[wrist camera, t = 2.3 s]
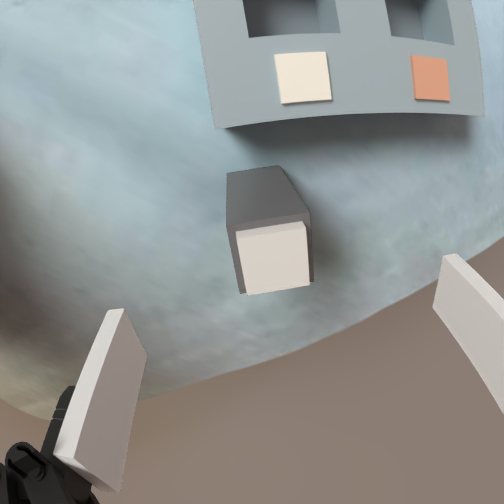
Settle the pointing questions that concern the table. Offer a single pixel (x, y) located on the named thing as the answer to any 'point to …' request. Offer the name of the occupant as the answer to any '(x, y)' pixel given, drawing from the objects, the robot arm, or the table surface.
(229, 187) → the plug
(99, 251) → the table surface
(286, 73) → the socket box
